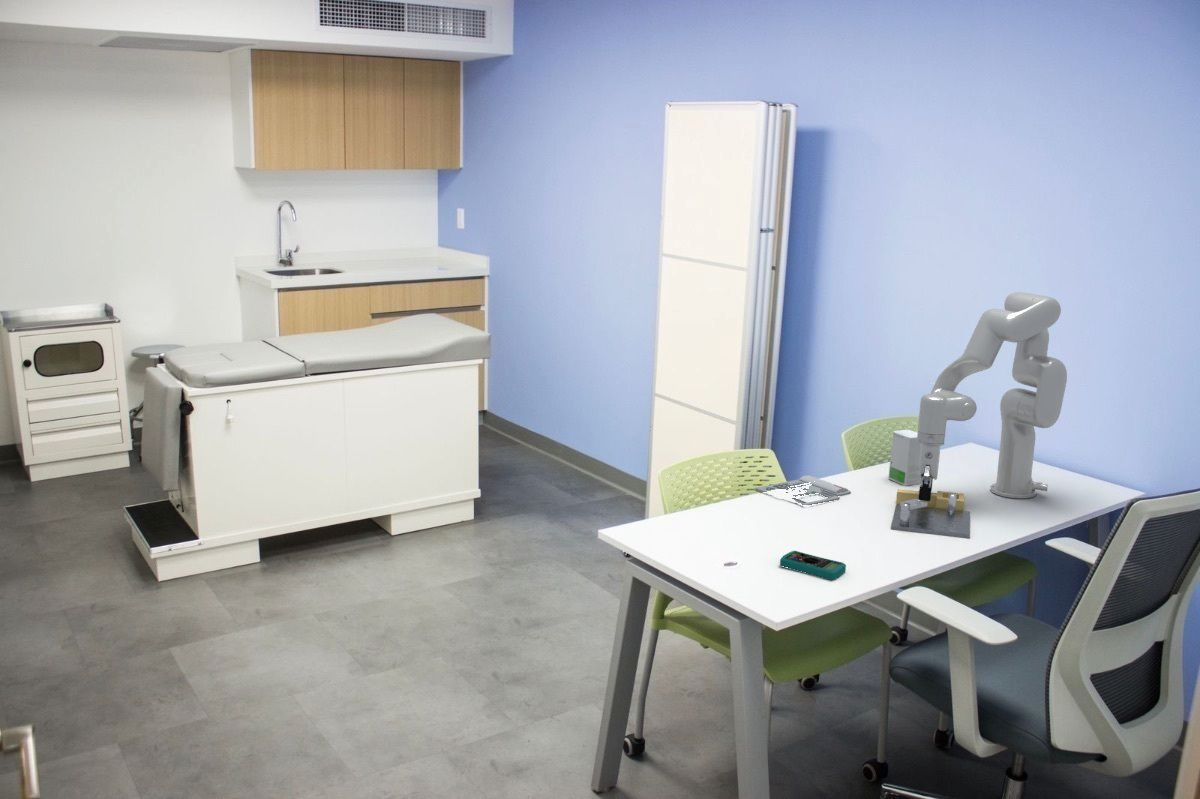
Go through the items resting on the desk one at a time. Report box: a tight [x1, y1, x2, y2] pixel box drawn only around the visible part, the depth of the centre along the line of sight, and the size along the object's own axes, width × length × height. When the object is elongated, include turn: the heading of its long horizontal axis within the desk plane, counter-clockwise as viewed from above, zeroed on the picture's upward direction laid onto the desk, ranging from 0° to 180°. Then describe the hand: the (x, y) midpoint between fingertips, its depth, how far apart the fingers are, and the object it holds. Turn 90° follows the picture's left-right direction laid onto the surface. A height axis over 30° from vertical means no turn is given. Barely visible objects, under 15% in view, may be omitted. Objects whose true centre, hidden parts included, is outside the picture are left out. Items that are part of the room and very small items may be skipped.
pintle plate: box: [890, 494, 971, 539], centre depth 286 cm, size 20×20×7 cm
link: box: [895, 488, 965, 511], centre depth 300 cm, size 18×7×4 cm, turn 71°
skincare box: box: [887, 429, 921, 487], centre depth 321 cm, size 8×7×16 cm
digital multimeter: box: [779, 550, 847, 581], centre depth 253 cm, size 7×15×3 cm, turn 53°
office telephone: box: [754, 475, 852, 505], centre depth 311 cm, size 23×3×20 cm
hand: (925, 495), depth 300 cm, fingers open, 9 cm apart
